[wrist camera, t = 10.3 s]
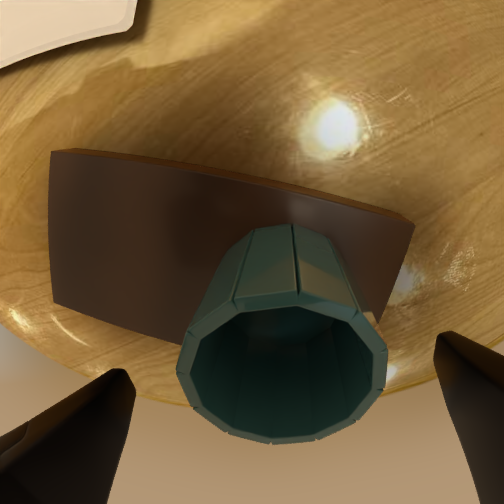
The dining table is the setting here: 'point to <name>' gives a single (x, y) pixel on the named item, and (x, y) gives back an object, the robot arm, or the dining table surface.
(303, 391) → the cup
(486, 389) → the robot arm
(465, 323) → the dining table surface
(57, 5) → the plate
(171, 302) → the block
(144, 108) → the dining table surface
